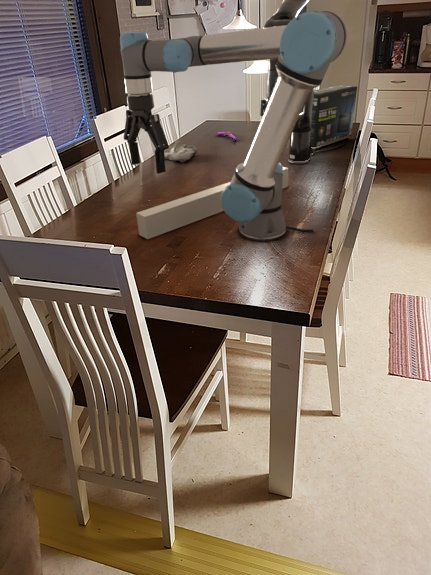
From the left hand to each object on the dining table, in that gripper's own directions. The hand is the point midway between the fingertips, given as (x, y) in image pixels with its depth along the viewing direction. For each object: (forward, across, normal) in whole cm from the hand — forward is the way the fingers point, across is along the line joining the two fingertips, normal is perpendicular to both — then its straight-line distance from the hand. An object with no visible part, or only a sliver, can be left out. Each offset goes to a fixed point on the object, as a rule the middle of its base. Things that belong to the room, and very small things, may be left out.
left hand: (148, 168), depth 141 cm
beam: (+22, 0, -30) cm, 37 cm away
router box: (+22, +29, -132) cm, 136 cm away
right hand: (-1, 0, -59) cm, 59 cm away
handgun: (+22, +78, -106) cm, 133 cm away
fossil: (+22, +66, -61) cm, 93 cm away
